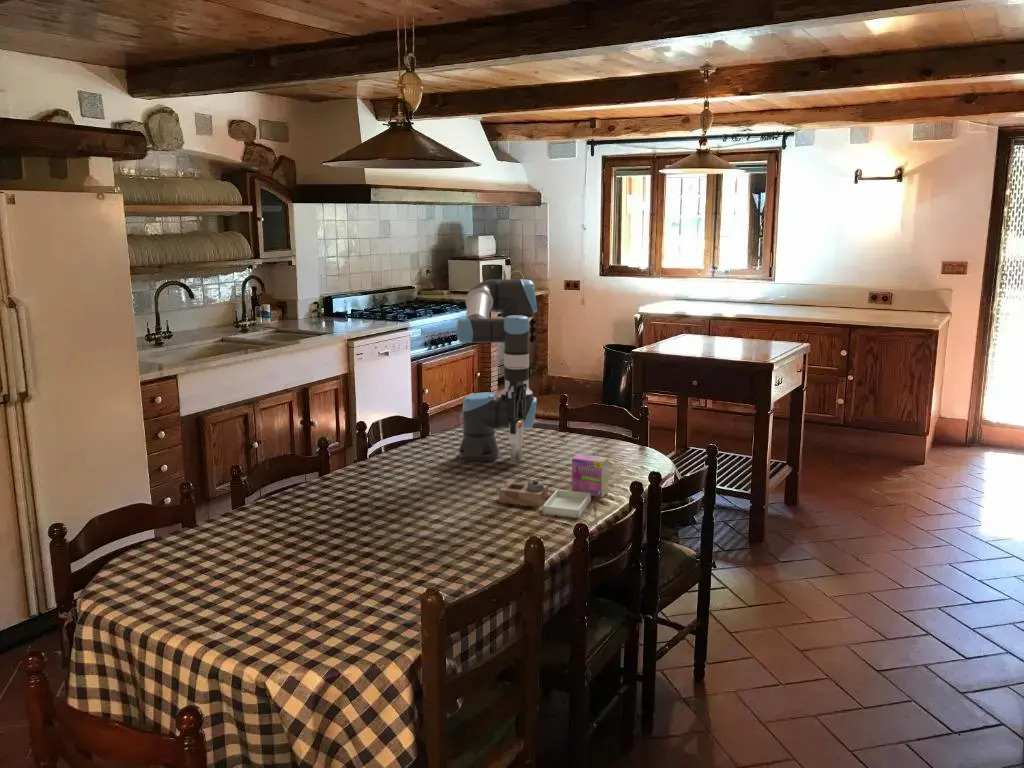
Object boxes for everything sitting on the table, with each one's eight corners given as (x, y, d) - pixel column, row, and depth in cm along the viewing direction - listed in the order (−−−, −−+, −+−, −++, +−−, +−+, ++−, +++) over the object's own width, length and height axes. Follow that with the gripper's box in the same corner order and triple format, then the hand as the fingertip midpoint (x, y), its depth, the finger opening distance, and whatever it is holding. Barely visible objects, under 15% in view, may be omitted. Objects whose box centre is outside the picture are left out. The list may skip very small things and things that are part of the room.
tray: (556, 496, 258) (556, 489, 258) (590, 500, 255) (591, 493, 254) (542, 514, 243) (542, 506, 243) (578, 518, 240) (578, 510, 239)
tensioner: (508, 493, 262) (508, 473, 260) (547, 497, 257) (548, 477, 256) (499, 502, 253) (499, 481, 252) (539, 507, 249) (539, 486, 248)
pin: (511, 456, 256) (512, 418, 254) (524, 457, 255) (524, 419, 252) (507, 460, 252) (507, 422, 250) (520, 461, 251) (520, 423, 249)
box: (571, 493, 262) (571, 457, 259) (578, 488, 267) (579, 453, 264) (601, 498, 257) (602, 462, 255) (608, 493, 262) (609, 457, 260)
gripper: (513, 361, 257) (513, 433, 262) (495, 371, 241) (495, 447, 246) (536, 362, 255) (536, 435, 259) (519, 373, 239) (519, 450, 243)
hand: (516, 441), depth 253 cm, fingers closed on pin, 4 cm apart
